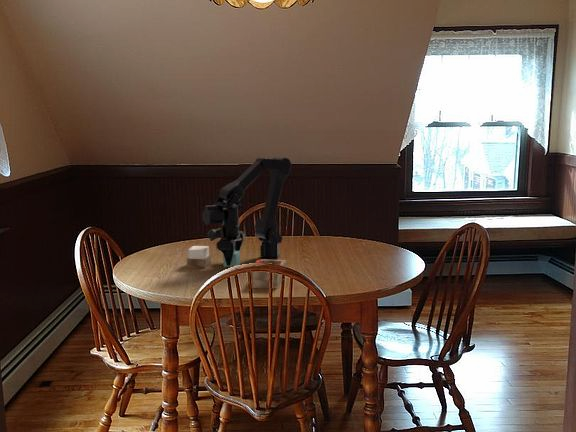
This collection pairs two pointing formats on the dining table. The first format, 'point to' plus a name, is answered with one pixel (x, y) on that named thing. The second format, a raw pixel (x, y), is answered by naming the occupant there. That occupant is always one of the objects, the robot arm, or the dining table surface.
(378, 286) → the dining table surface
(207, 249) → the cream block
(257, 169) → the robot arm
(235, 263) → the teal cube
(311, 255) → the dining table surface
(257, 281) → the bracket cradle
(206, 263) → the walnut block
